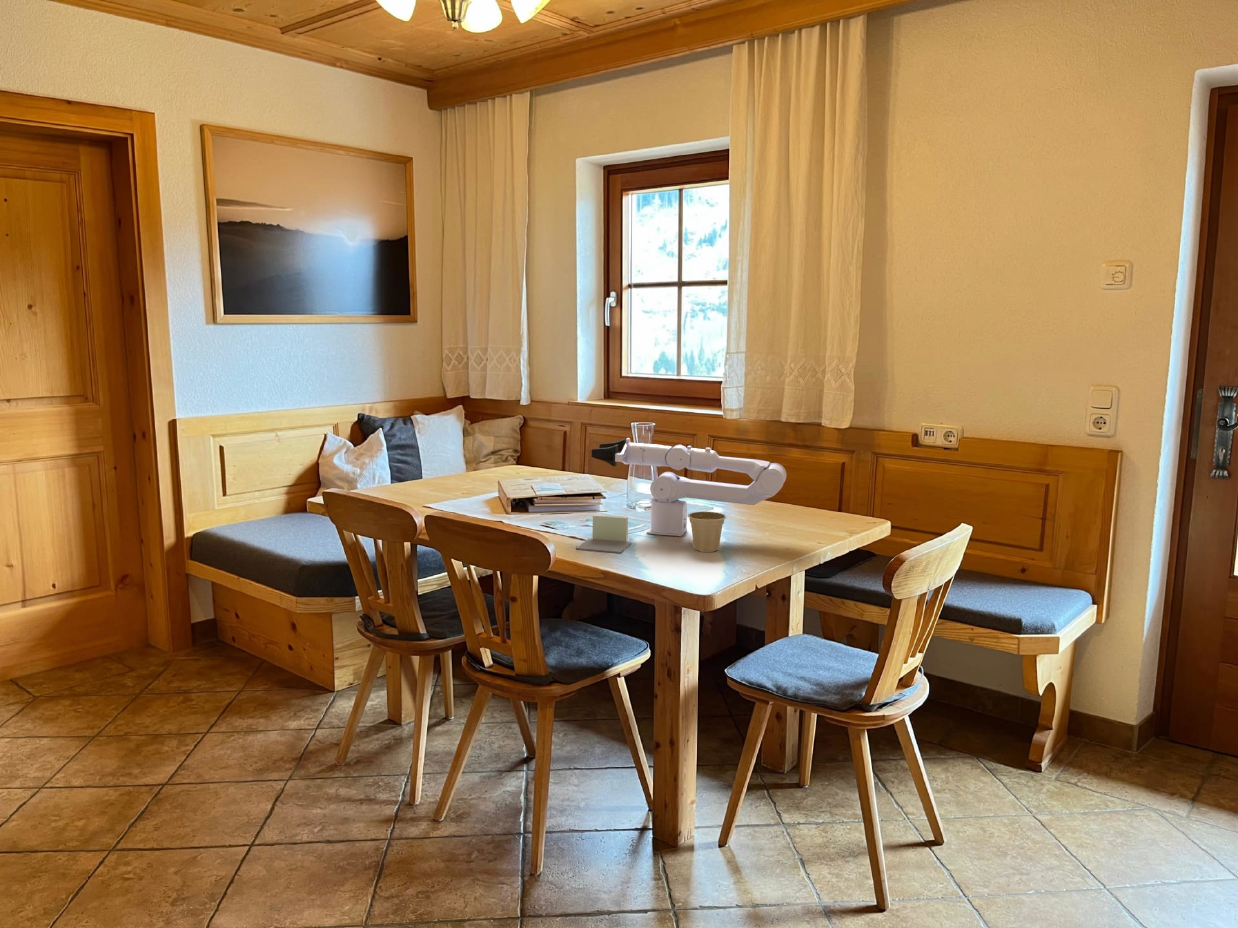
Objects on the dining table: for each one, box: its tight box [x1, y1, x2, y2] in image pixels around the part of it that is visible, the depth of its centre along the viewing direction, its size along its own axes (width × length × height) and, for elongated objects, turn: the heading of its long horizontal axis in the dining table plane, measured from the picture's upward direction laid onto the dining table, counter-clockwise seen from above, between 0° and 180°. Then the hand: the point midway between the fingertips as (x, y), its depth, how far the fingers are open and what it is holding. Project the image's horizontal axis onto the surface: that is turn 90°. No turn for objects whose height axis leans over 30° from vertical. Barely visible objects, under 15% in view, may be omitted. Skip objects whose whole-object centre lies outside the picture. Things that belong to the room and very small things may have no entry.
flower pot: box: [687, 511, 727, 553], centre depth 231 cm, size 9×9×9 cm
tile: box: [591, 514, 629, 542], centre depth 238 cm, size 9×2×6 cm, turn 74°
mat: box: [575, 538, 632, 554], centre depth 233 cm, size 12×10×1 cm
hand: (595, 450), depth 250 cm, fingers open, 7 cm apart
